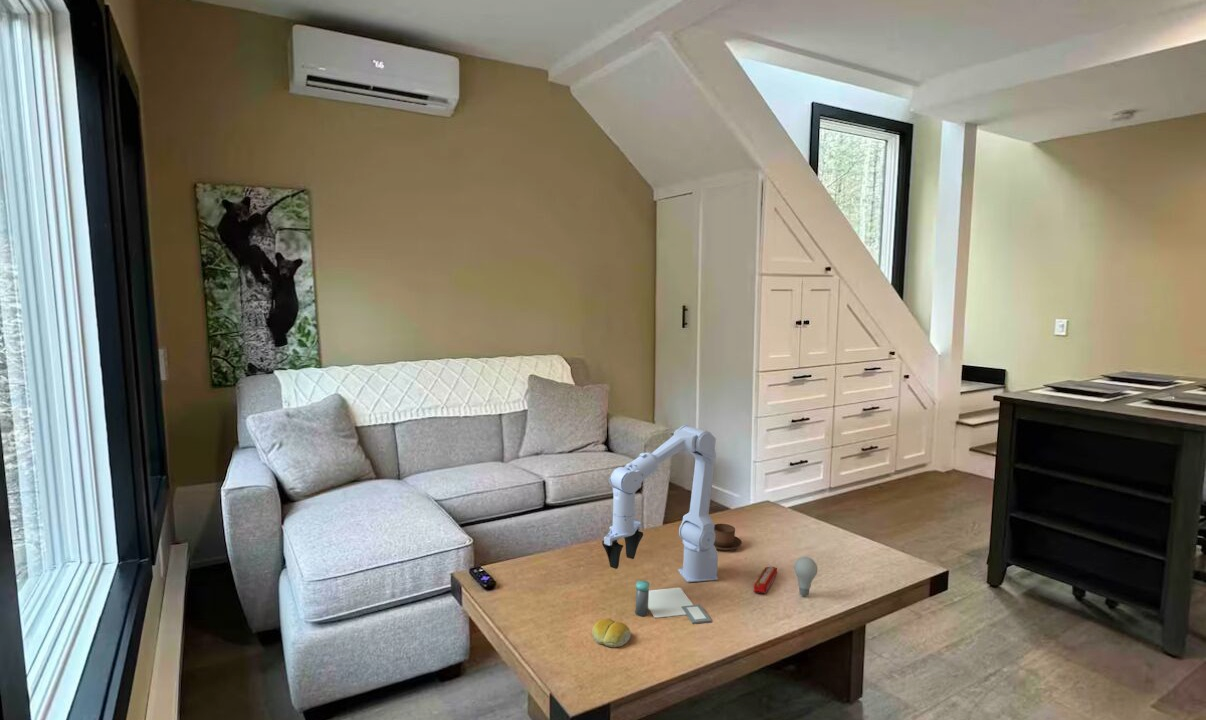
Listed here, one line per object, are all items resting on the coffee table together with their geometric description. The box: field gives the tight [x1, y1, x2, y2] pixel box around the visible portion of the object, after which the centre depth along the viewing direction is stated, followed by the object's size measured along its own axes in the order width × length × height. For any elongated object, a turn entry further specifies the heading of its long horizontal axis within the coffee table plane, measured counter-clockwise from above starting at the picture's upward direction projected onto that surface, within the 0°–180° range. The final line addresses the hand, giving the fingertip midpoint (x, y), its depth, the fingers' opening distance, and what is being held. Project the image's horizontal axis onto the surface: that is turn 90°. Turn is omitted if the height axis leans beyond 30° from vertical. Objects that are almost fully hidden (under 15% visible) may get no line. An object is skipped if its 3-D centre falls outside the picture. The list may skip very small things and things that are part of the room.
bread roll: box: [591, 618, 632, 648], centre depth 151 cm, size 8×9×4 cm
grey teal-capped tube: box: [635, 579, 650, 617], centre depth 162 cm, size 3×3×8 cm
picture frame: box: [682, 604, 713, 625], centre depth 162 cm, size 5×8×1 cm, turn 13°
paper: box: [648, 587, 694, 619], centre depth 169 cm, size 12×14×1 cm
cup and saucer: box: [713, 523, 742, 551], centre depth 207 cm, size 12×12×6 cm
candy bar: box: [753, 566, 778, 594], centre depth 181 cm, size 16×4×3 cm, turn 152°
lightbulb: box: [793, 556, 818, 597], centre depth 173 cm, size 6×6×11 cm
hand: (622, 562), depth 169 cm, fingers open, 7 cm apart
